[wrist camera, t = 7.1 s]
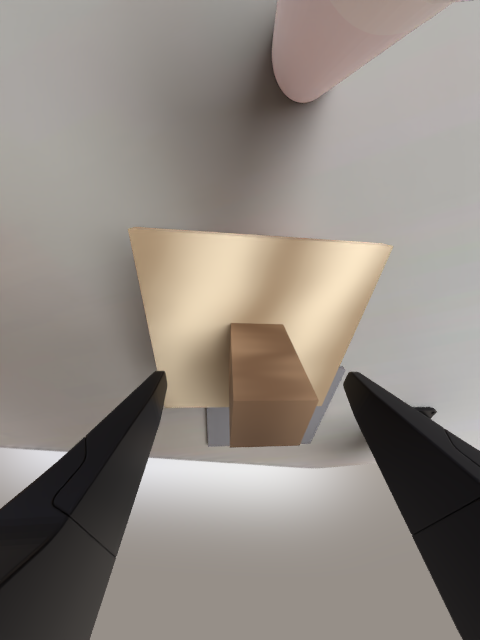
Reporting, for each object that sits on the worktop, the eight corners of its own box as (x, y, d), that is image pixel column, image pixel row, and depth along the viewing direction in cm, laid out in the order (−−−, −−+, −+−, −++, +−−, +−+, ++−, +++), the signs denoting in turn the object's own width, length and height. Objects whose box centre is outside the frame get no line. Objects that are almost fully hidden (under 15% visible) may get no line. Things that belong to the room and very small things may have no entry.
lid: (381, 243, 10) (539, 283, 5) (317, 397, 16) (358, 484, 11) (135, 227, 9) (18, 257, 4) (167, 398, 15) (138, 495, 10)
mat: (342, 366, 21) (345, 370, 21) (309, 440, 29) (310, 443, 29) (206, 366, 20) (205, 369, 20) (208, 442, 28) (208, 446, 27)
